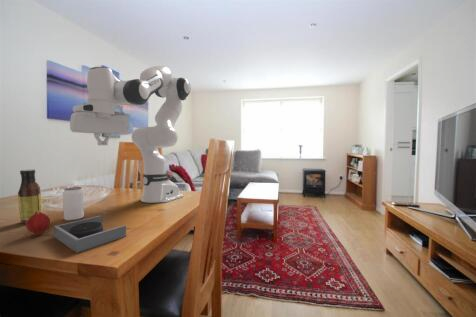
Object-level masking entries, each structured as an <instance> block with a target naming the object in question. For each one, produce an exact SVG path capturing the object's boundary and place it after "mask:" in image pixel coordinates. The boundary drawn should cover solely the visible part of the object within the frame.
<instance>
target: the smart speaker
mask: <svg viewBox="0 0 476 317" xmlns="http://www.w3.org/2000/svg"><path fill="white" fill-rule="evenodd" d="M103 231H104V224H103V223H100V222H87V223H82V224H78V225H75V226H73V227H72V228H71V229H70V230H69V233H70V234H72V235H73V236H75V237H77V238H78V239H79V238H82V237H86V236H89V235H93V234H96V233H99V232H103Z"/></svg>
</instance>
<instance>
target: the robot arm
mask: <svg viewBox="0 0 476 317" xmlns="http://www.w3.org/2000/svg"><path fill="white" fill-rule="evenodd" d="M86 81H87V82H86V84H87V85H86V86H87V88H86V89H87V92H88V98H87V103H82V104H78V105H74V106H73V107H72V111H73V113H72V114H71V115H70V119H69V130H70V132H72V133H79V134H80V133H84V134H93V137H94V138H95V140H96V141H97V146H108V144H109V143H108V142H109V140H110V139H111V135H129V134H130V126H129V125H130V123H129V116H128V115H127V113H125V112H123V111H121V112H120V111H116V108H115V106H132V105H135V106H142V105H145V104H146V103H147V102H148V101H149V99H150V98H151V96H152V95H153V94H155V95H156V97H158V98H162V99H163V98H165V101H164V103H163V104H162V105H161V106H160V107H159V109H158V111H157V112H156V114H155V116H154V122H155V123H156V125H154V126H142V127H139V128H135V129H134V130H133V131H132V133H131V141H132V143H133V144H134V145H135V146H136V147H137V148H138V149H139V151H140V153H141V156H142V162H143V174H142V183H143V190H142V195H141V198H140V202H143V203H147V204H149V203H150V204H151V203H153V204H154V203H155V204H156V203H168V202H172V201H174V200H177V199H180V198H183V197H184V194H183V193H180V189H179V186H178V185H177V184H176V183H174V182H173V181H171V180H170V178H172V177H173V174H172V173H167V162H166V161H167V160H166V157H165V156H164V155H162V154H161V153H160V151H159V149H160V148H161V149H163V148H165V149H166V148H169V147H173V146H175V145H176V144H177V142H178V137H179V136H178V132H177V131H176V129H175V128H174V127H175V125H176V123H177V121H178V119H179V117H180V115H181V113H182V109H183V103H182V101H186V99H187V97H189V95H190V92H191V88H192V87H191V83H190V81H189V80H188V79H187V78H184V77H173V76H172V71H171V70H170V69H169V68H168V67H167V66H165V65H156V66H150V67H148V68H146V69H144V70H143V71H141V73H140V76H139V78H136V79H135V78H134V79H129V80H122V81H121V80H119V79H118V78H117V77H116V75H114V73H113V70H112V69H111V68H109V67H107V66H93V67H91V68H89V69H88V71H87V80H86ZM101 134H102V135H103V136H104V137H105V138H104V140H102V139H101ZM158 148H159V149H158Z"/></svg>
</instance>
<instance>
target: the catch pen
mask: <svg viewBox="0 0 476 317" xmlns="http://www.w3.org/2000/svg"><path fill="white" fill-rule="evenodd" d="M102 219H103V218H102V215H101V214H100V215H97V216H92V217H89V218H88V217H87V218H84V219H78V220H73V221H70V222H67V223H62V224H59V225H54V226H53V237H54V239H56V240H58V241H59V242H60V243H62V244H64V245H65V246H66V247H68V248H69V249H70V250H72V251H73V252H75V253H77V254H78V253H81V252H83V251H87V250H89V249H92V248H96V247H99V246H101V245H104V244H105V245H106V244H107V243H110V242H113V241H116V240H119V239H122V238H125V237H127V225H126V224H123V225H120V226H117V227H113V228H109V229H106V230H103V232H99V233H96V234H93V235H89V236H86V237H82V238H79V239H78V238H77V237H75V236H73V235H72V234H70V233H69V230H70V229H71V228H72V227H73V226H75V225H78V224H82V223H87V222H100V223H102ZM102 224H103V223H102Z"/></svg>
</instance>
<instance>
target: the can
mask: <svg viewBox="0 0 476 317" xmlns="http://www.w3.org/2000/svg"><path fill="white" fill-rule="evenodd" d="M84 202H85V201H84V191H83V189H82V187H80V186H79V187H78V186H74V187H73V186H72V187H67V188H66V187H65V188H64V189H63V193H62V204H63V206H62V207H63V209H62V210H63V220H64V221H70V222H73V221H79V220H82V218H84V217H85V207H84V206H85V204H84Z"/></svg>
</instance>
